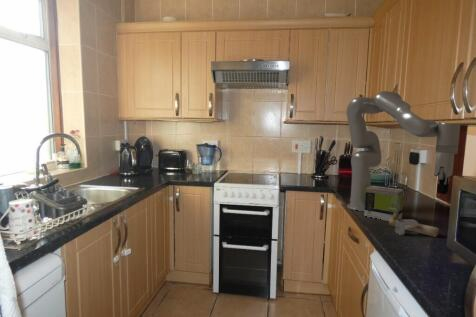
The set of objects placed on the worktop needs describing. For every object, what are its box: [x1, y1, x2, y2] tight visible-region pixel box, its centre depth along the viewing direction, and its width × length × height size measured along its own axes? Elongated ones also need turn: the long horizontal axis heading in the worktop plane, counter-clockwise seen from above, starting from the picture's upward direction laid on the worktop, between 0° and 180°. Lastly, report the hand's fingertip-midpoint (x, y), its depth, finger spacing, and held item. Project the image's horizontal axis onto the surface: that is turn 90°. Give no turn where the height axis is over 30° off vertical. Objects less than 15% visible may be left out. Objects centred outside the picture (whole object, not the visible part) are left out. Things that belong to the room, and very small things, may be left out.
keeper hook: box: [394, 218, 419, 236], centre depth 121 cm, size 3×8×6 cm, turn 93°
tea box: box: [363, 185, 405, 222], centre depth 142 cm, size 15×10×15 cm
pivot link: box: [388, 213, 440, 238], centre depth 126 cm, size 18×5×6 cm, turn 43°
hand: (442, 192), depth 123 cm, fingers open, 2 cm apart
